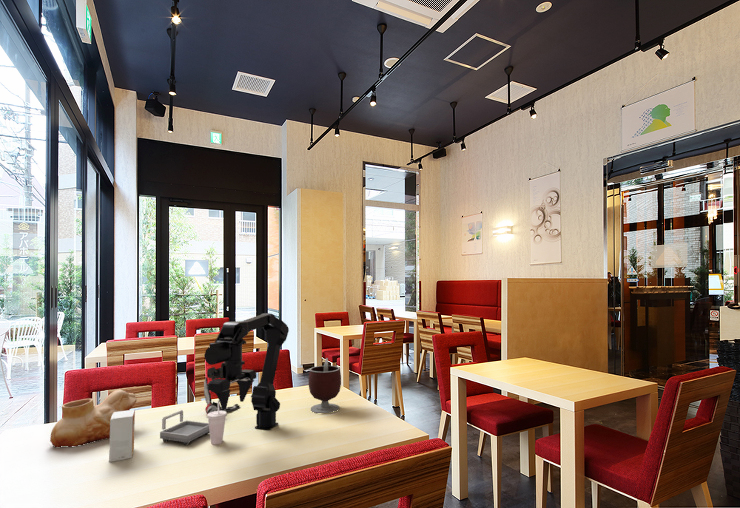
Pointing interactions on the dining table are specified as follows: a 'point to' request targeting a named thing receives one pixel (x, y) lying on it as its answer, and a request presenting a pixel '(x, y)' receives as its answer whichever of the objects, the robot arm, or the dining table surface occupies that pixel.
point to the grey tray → (183, 429)
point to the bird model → (214, 406)
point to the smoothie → (216, 425)
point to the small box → (121, 435)
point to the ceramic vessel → (89, 419)
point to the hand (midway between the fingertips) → (233, 405)
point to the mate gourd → (324, 386)
